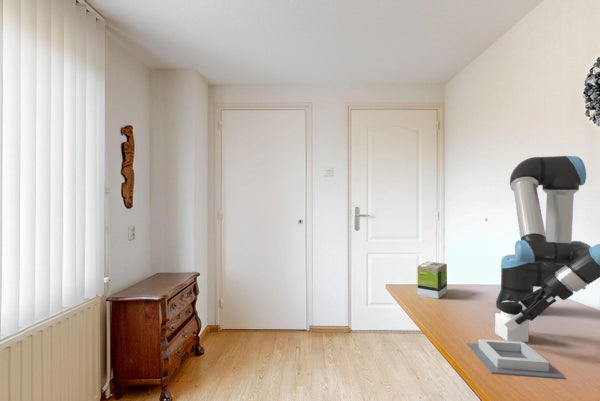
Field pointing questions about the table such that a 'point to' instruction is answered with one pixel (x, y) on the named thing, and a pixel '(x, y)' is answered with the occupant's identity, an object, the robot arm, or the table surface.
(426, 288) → the tea box
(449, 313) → the table surface
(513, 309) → the medicine bottle
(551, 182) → the robot arm
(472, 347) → the collar plate
